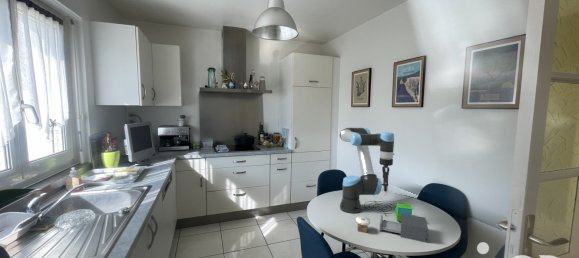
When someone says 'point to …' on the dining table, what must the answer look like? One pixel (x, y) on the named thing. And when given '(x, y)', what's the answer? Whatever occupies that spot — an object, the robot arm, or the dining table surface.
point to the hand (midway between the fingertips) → (384, 192)
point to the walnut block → (362, 228)
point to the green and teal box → (403, 210)
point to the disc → (363, 220)
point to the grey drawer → (390, 226)
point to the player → (414, 227)
